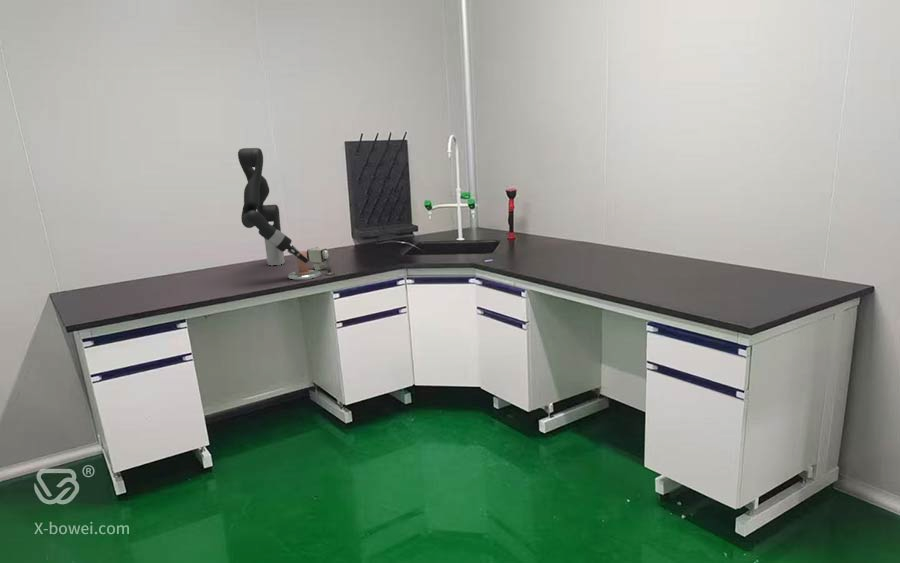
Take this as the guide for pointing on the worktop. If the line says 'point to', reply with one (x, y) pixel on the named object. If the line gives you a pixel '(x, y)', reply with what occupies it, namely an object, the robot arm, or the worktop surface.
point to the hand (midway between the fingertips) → (305, 260)
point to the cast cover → (303, 265)
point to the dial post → (327, 256)
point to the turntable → (304, 277)
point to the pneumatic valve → (316, 257)
